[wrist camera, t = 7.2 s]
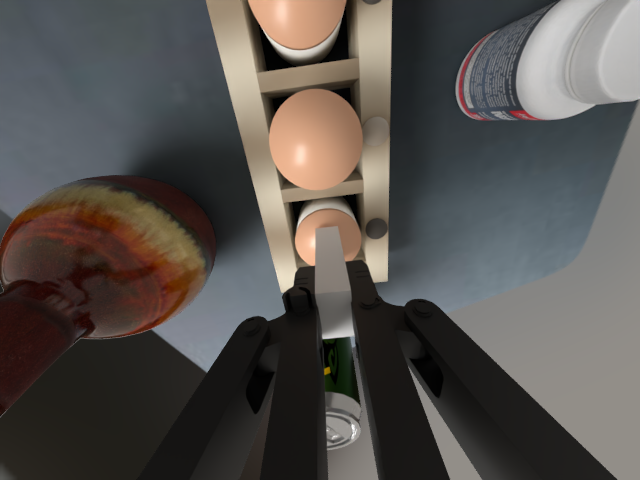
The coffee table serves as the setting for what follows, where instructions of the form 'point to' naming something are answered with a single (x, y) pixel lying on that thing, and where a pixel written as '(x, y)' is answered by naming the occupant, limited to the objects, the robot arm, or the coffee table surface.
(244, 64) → the wooden egg tray
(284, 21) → the button
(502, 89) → the pill bottle
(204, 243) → the vase
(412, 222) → the coffee table surface
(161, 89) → the coffee table surface
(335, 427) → the beer can
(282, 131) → the button
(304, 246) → the button
